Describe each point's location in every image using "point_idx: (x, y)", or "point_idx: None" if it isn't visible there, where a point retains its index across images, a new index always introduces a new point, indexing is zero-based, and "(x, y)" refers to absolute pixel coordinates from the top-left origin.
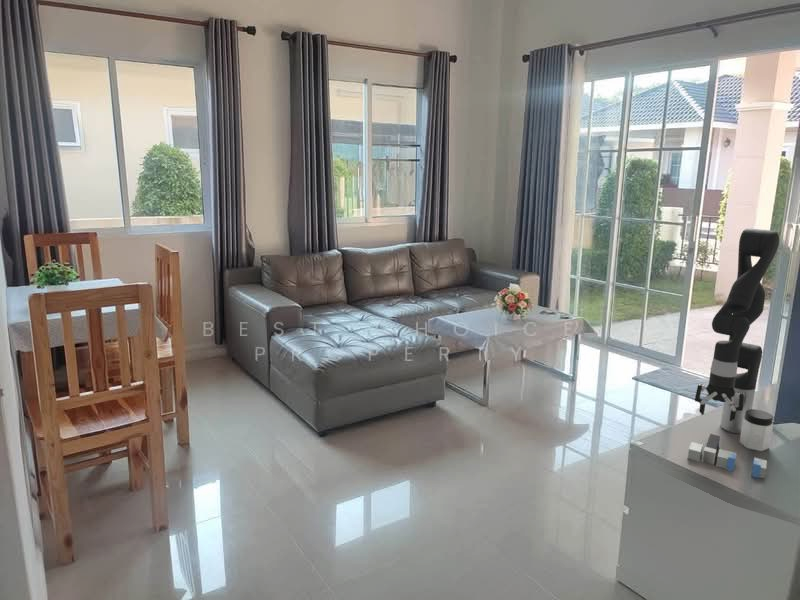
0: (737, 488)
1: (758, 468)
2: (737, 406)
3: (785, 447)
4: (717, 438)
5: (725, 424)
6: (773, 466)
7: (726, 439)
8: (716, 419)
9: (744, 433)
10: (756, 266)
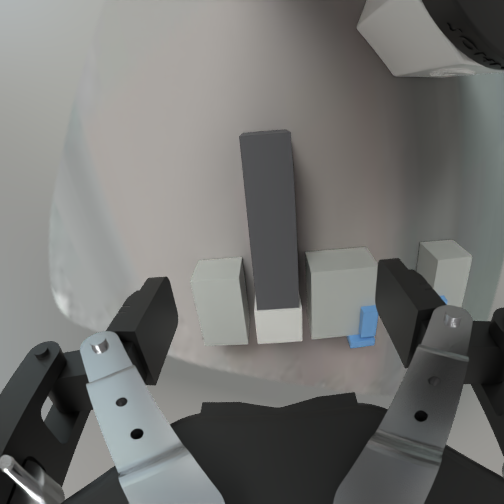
0: (367, 387)
1: None
2: (478, 366)
3: None
4: (285, 175)
5: None
6: (475, 189)
7: (301, 30)
8: None
9: (395, 37)
10: None
